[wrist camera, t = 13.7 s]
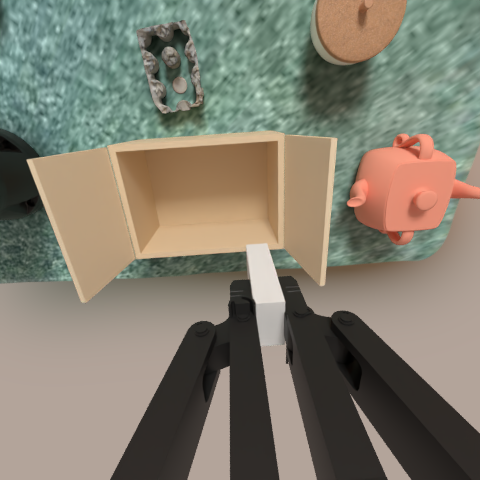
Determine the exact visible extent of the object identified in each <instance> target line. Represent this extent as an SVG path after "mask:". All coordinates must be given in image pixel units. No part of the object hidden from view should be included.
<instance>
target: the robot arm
mask: <svg viewBox="0 0 480 480" xmlns="http://www.w3.org/2000/svg"><path fill="white" fill-rule="evenodd" d="M34 158H40V157H39V156H38V154H37V153H36V152H35V151H34V150H33V148H32V147H31V146H30V145H28V144H27V143H26V142H25V141H24V140H22V139H21V138H19V137H18V136H16V135H14V134H13V133H10V132H8V131H6V130H3V129H0V221H2V220H16V219H21V218H24V217H26V216H29V215H31V214H33V213H35V212H37V211H38V210H40V209H41V208H42V207H43V206H44V204H43V202H42V199H41V196H40V194H39V191H38V189H37V186H36V184H35V181H34V178H33V176H32V173H31V171H30V168H29V165H28V163H27V159H34ZM246 256H247V275H248V280H235V281H233V282H232V284H231V285H230V301H229V304H228V306H229V318H228V319H227V320H226V321H225V322H223V323H221V324H219V325H216V326H214V324H212V323H211V322H207V321H200V322H197V323H195V324H193V325H192V326H191V327H190V328H189V329H188V331H187V333H186V335H185V337H184V339H183V341H182V343H181V345H180V346H179V349H178V350H177V352H176V354H175V356H174V358H173V360H172V362H171V364H170V366H169V368H168V370H167V372H166V373H165V375H164V377H163V379H162V381H161V383H160V385H159V387H158V389H157V391H156V393H155V394H154V397H153V398H152V400H151V402H150V404H149V406H148V408H147V410H146V412H145V414H144V416H143V418H142V419H141V421H140V423H139V425H138V427H137V429H136V431H135V433H134V435H133V437H132V439H131V441H130V443H129V444H128V447H127V448H126V450H125V452H124V454H123V456H122V458H121V460H120V462H119V464H118V466H117V468H116V470H115V471H114V473H113V475H112V477H111V479H110V480H187V478H188V475H189V472H190V468H191V465H192V462H193V459H194V456H195V452H196V449H197V446H198V443H199V439H200V436H201V433H202V430H203V426H204V423H205V419H206V417H207V413H208V410H209V407H210V404H211V400H212V397H213V394H214V390H215V387H216V384H217V381H218V378H219V374H220V369H223V368H225V367H228V366H230V480H279V473H278V467H277V459H276V453H275V445H274V438H273V431H272V424H271V417H270V410H269V403H268V396H267V389H266V382H265V375H264V368H263V361H262V354H261V346H269V345H284V343H285V341H286V348H287V349H286V364H288V362H289V366H290V370H291V374H292V378H293V382H294V386H295V391H296V394H297V399H298V403H299V407H300V411H301V415H302V419H303V423H304V428H305V431H306V436H307V440H308V444H309V448H310V452H311V457H312V461H313V465H314V468H315V473H316V477H317V480H388V479H387V477H386V475H385V473H384V471H383V468H382V466H381V464H380V462H379V459H378V457H377V455H376V452H375V450H374V448H373V446H372V443H371V441H370V439H369V436H368V434H367V432H366V430H365V427H364V425H363V423H362V420H361V418H360V416H359V414H358V411H357V409H356V407H355V405H354V402H353V400H352V398H351V395H352V397H353V398H354V400H355V401H356V403H357V404H358V405H359V406H360V408H361V410H362V411H363V412H364V414H365V415H366V416H367V418H368V419H369V421H370V422H371V424H372V425H373V426H374V428H375V429H376V431H377V432H378V433H379V435H380V436H381V438H382V439H383V441H384V442H385V443H386V445H387V446H388V447H389V449H390V450H391V452H392V453H393V455H394V456H395V457H396V459H397V460H398V462H399V463H400V464H401V466H402V467H403V469H404V470H405V471H406V473H407V474H408V476H409V477H410V478H411V480H480V433H479V432H478V431H477V430H476V429H474V428H473V427H472V426H471V425H470V424H469V423H468V422H467V421H466V420H465V419H464V418H463V417H462V416H461V415H460V414H459V413H458V412H457V411H456V410H455V409H454V408H453V407H452V406H450V405H449V404H448V403H447V402H446V401H445V400H444V399H443V398H442V397H441V396H440V395H439V394H438V393H437V392H436V391H435V390H434V389H433V388H432V387H431V386H430V385H429V384H428V383H427V382H426V381H425V380H424V379H422V378H421V377H420V376H419V375H418V374H417V373H416V372H415V371H414V370H413V369H412V368H411V367H410V366H409V365H408V364H407V363H406V362H405V361H404V360H402V358H401V357H399V356H398V355H397V354H396V353H395V352H394V351H393V350H392V349H391V348H390V347H389V346H388V345H387V344H386V343H385V342H384V341H383V340H382V339H381V338H380V337H379V336H378V335H377V334H376V333H375V332H373V330H372V329H370V328H369V327H368V326H367V325H366V324H365V323H364V322H363V321H362V320H361V319H360V318H359V317H358V316H357V315H355V314H353V313H351V312H348V311H337V312H335V313H333V315H332V316H331V317H324V316H320V315H317V314H314V312H313V310H312V309H311V308H309V307H308V306H307V305H306V302H305V300H304V297H303V295H302V293H301V291H300V288H299V286H298V283H297V281H296V280H295V279H294V278H293V277H291V276H284V277H277V273H276V270H275V267H274V264H273V261H272V257H271V254H270V251H269V248H268V244H267V243H263V244H248V245H246ZM350 394H351V395H350Z"/></svg>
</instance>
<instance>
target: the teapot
mask: <svg viewBox="0 0 480 480" xmlns="http://www.w3.org/2000/svg"><path fill="white" fill-rule="evenodd" d="M417 142H420V146H412V145H414V144H415V143H417ZM455 174H456V162H455V161H454V160H453V159H452V158H450V157H449V156H447V155H445V154H444V153H442V152H440V151H438V150H435V149H434V143H433V140H432V138H431V137H430V136H429V135H426V134H418V135H415V136H412V137H410V138H409V136H408V135H407V134H399V135H398V136H396V138H395V139H394V142H393V147H387V148H379V149H373V150H370V151H368V152H366V153H365V154H364V155H363V157H362V159H361V162H360V164H359V168H358V172H357V176H356V180H355V183H354V184H353V186H352V188H351V190H350V200H348V202H347V205H348V206H350V207H354V212H355V215H356V218H357V219H358V221H360V222H361V223H363V224H364V225H366V226H368V227H371V228H374V229H378V230H379V231H380V232H381V233H384V234H386V233H387V235H388V237H389V238H390V240H391V241H392V242H393V243H394V244H396V245H404V244H407V243H409V242H410V241H411V239H412V238H413V235H414V231H417V230H428V229H434V228H436V227H437V226H438V225H439V224H440V222H441V221H442V219H443V217H444V214H445V212H446V209H447V206H448V204H449V201H450V198H476V199H480V188H478V187H474V186H471V185H468V184H466V183H463V182H461V181H458V180H456V179H455ZM399 231H402V236H401V237H400V236H399V234H398V232H399Z"/></svg>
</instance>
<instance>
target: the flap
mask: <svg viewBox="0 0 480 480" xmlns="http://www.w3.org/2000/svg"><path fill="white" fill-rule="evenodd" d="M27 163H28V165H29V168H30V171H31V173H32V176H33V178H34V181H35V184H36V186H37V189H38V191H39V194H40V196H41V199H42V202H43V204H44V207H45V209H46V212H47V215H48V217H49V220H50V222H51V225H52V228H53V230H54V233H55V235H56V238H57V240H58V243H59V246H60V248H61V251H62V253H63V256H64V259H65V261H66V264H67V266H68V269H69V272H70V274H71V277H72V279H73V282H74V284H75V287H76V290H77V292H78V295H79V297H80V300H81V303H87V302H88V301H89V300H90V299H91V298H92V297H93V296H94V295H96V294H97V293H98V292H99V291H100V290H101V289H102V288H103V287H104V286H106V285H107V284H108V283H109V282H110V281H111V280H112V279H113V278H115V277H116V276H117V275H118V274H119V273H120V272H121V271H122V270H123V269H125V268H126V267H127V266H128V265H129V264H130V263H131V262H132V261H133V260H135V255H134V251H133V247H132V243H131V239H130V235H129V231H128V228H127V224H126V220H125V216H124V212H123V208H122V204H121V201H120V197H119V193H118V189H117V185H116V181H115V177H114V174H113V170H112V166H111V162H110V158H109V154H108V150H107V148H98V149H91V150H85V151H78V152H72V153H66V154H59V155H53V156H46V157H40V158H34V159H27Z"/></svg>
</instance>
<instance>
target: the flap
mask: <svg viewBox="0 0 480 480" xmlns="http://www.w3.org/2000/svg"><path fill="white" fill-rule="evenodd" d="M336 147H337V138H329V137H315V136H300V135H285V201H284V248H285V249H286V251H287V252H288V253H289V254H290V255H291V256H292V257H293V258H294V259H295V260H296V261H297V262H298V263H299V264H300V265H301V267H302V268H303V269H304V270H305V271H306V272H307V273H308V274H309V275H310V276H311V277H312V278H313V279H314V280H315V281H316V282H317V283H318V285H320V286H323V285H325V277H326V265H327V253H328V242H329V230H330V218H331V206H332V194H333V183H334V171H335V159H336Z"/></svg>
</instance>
